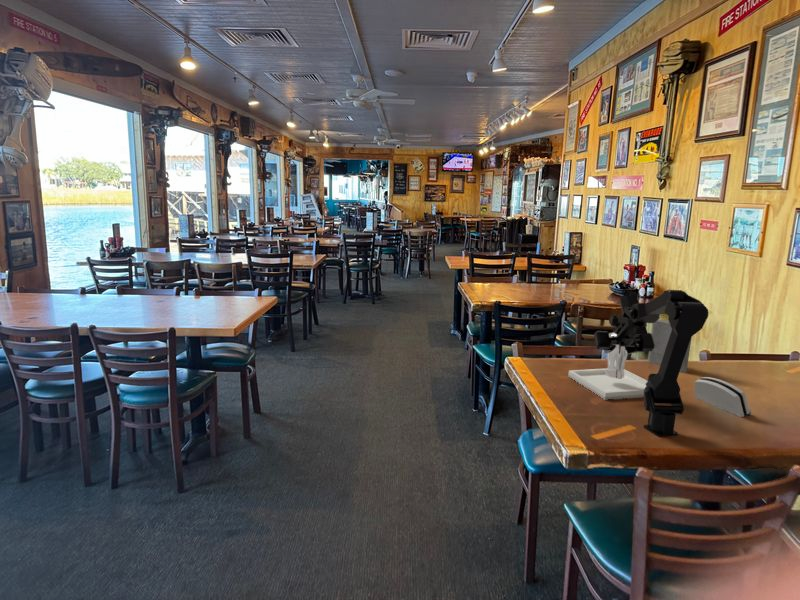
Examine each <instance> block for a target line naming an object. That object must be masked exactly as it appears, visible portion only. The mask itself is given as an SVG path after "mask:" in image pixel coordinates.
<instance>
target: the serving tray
mask: <svg viewBox="0 0 800 600" xmlns="http://www.w3.org/2000/svg"><path fill="white" fill-rule="evenodd" d="M606 371H607V367H606V368H593V369H592V368H590V369H588V368H587V369H571V370H568V374H567V375H568V376H567V377H568V378H569V377H570V378H572V379H573V381H574V380H575V381H576V382H575V381H574V382H575V383H577V382H578V383H579V384H578V383H577V384H578V385H580V384H581V385H580V386H582V385H583V386H584V388H585V387H586V388H587V389H586V388H585V389H586V390H588V389H589V390H591V391H592V392H591V391H590V392H591V393H593V392H594V393H595V394H594V393H593V394H594V395H596V394H597V395H598V396H597V395H596V396H597V397H599V396H600V397H601V398H600V397H599V398H600V399H602V398H603V399H602V400H603V401H609V400H608V399H614V400H624V399H625V398H627V399H641V398H644V389H645V387H646V383H647V381H648V379H645V378H643V377H641V376H639V375H637V374H634V373H633V372H631V371H628V370H627V369H625V368H624V378H623V379H613V378H609V377H607V376H606ZM570 378H569V379H570ZM572 379H571V380H572ZM583 386H582V387H583ZM589 390H588V391H589ZM623 398H624V399H623Z"/></svg>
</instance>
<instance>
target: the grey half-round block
mask: <svg viewBox="0 0 800 600" xmlns="http://www.w3.org/2000/svg"><path fill="white" fill-rule="evenodd" d="M693 384H694V385H693V387H694V398H695V399H697V400H699V399H700V401H702V402H704V403H707V404H709V405H710V406H713V407H715V408H719V409H721V410H723V411H725V412H727V411H728V413H730V414H732V415H734V414H735V415H734V416H737V417H740V418H744V417H745V414H746V415H749V416H752V414H753V412H752V409H750V408H749V405H748V401H747V397H746V394H745V392H744V391H743V390H741V389H740V388H738V387H736V386H735V385H733V384H731V383H730V382H727V381H724V380H723V379H720V378H719V379H718V378H716V377H709V376H704V377H703V376H702V377H700V378H699V379H696V380H695V381H694V383H693Z"/></svg>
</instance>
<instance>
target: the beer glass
mask: <svg viewBox="0 0 800 600" xmlns="http://www.w3.org/2000/svg"><path fill="white" fill-rule="evenodd" d="M608 334H609V337H612V338H616V336H617V334H615V331H613V332H608ZM611 348H612V351H610V352H609V353H607V354H606V355H607V367H606V368H607V371H606V376H607V377H609V378H613V379H623V378H624V369H625V364H626V361H627V358H628V355H629V354H628V350H629V347H621V346H620V345H612V346H611Z"/></svg>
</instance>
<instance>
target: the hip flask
mask: <svg viewBox="0 0 800 600" xmlns="http://www.w3.org/2000/svg"><path fill="white" fill-rule="evenodd" d="M671 331H672V328H671V325H670V323H669V320H662V319H658V320H657V321H656V322H655V323H651V332H650V333H651V334H652V336H653V340H654V344H655V348H654V349H653V350H652V351H648V357H647V362H648V363H651V364H654V365H657V366H660V365H661V362H662V359H663V356H664V353H665V350H666V346H667V343H668V340H669V337H670V334H671ZM691 344H692V340H691V341H690V343H689V346H688V349H687V352H686V355H685V358H684V361H683V364H682V367H681V369H680V372H679V373H685V374H686V373H687V371H688V365H689V358H690V351H691V346H692V345H691Z"/></svg>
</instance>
